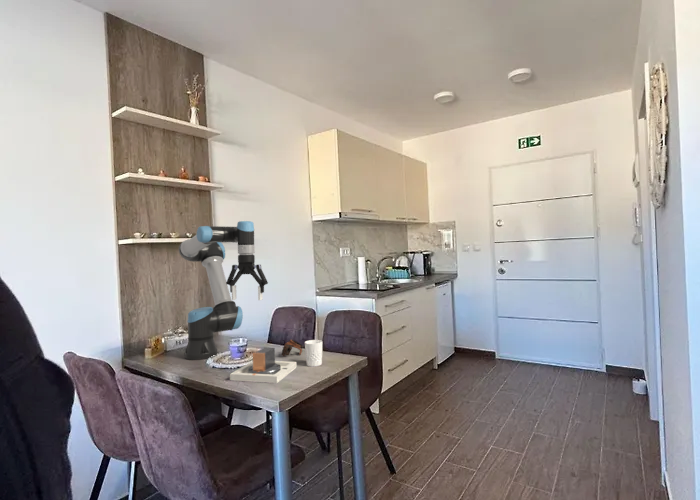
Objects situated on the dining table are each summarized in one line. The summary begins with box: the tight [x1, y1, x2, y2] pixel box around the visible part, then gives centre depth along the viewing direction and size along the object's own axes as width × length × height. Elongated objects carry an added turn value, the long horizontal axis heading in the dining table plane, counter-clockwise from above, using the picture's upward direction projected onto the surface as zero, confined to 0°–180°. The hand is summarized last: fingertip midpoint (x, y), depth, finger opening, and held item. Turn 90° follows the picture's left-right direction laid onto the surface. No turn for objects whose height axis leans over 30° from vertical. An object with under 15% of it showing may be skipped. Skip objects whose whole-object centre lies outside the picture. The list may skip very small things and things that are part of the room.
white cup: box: [304, 339, 323, 367], centre depth 174 cm, size 8×8×10 cm
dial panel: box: [229, 360, 297, 384], centre depth 162 cm, size 20×20×3 cm
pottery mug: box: [281, 339, 304, 357], centre depth 191 cm, size 12×10×8 cm
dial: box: [248, 347, 281, 375], centre depth 162 cm, size 13×13×9 cm
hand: (247, 299), depth 184 cm, fingers open, 13 cm apart
